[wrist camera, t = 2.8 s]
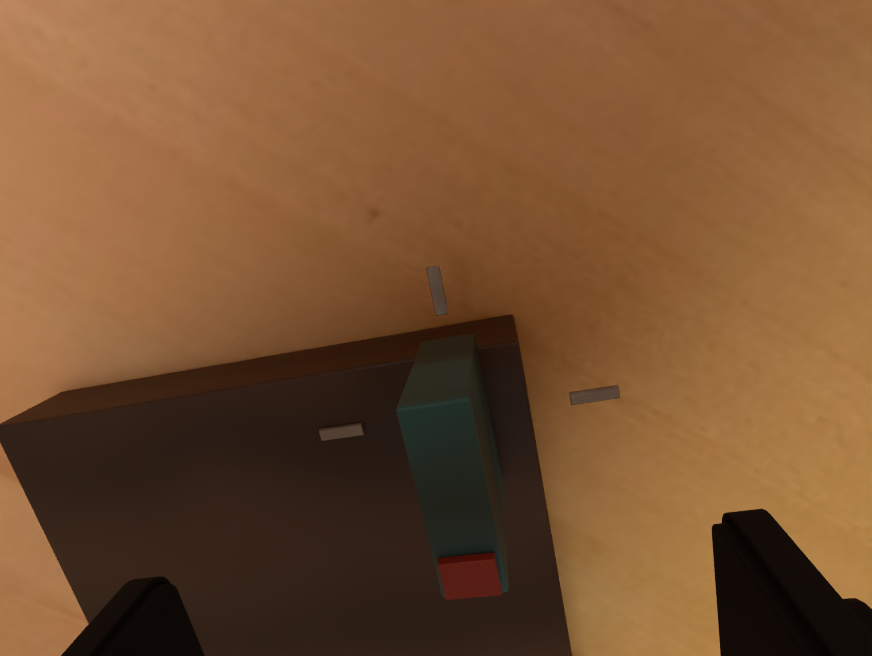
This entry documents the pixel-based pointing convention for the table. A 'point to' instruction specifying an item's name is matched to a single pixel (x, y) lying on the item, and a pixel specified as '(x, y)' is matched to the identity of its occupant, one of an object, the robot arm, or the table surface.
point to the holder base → (291, 501)
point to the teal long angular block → (456, 467)
